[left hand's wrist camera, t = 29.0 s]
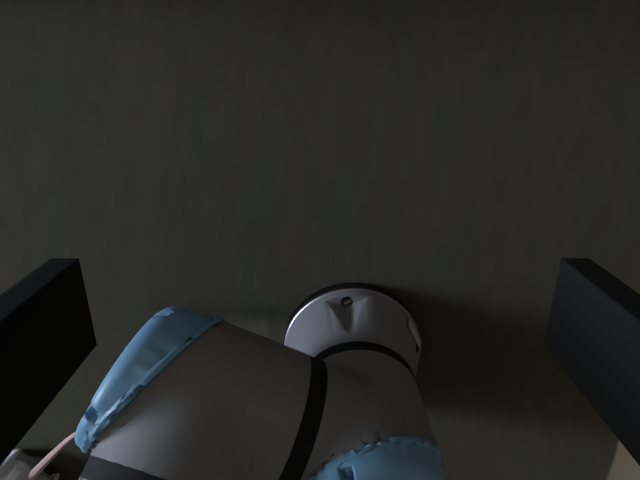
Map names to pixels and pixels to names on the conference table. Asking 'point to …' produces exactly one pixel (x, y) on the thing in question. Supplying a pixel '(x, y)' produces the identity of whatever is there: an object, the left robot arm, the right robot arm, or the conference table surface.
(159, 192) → the conference table surface
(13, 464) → the toy
